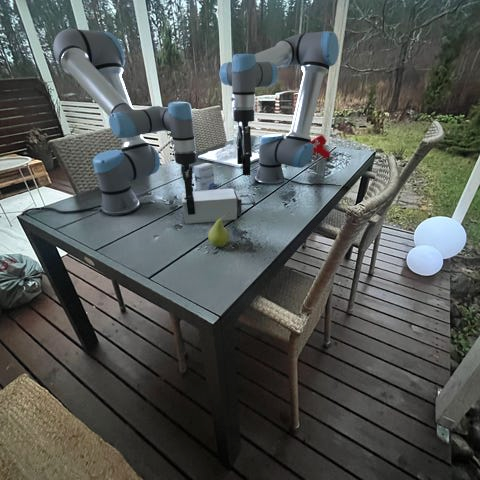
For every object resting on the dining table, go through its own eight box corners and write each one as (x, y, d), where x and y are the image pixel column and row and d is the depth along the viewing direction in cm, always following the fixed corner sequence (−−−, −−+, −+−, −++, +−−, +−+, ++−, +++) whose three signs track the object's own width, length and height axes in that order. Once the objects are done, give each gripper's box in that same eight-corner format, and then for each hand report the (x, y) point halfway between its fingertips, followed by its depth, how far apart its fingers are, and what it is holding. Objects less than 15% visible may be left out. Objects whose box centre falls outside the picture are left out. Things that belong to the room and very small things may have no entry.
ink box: (208, 184, 140) (207, 162, 133) (214, 187, 137) (213, 164, 130) (195, 189, 134) (192, 165, 128) (201, 192, 132) (199, 168, 125)
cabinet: (233, 208, 117) (232, 188, 112) (236, 219, 108) (236, 198, 103) (184, 212, 114) (182, 191, 109) (184, 224, 105) (182, 202, 100)
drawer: (250, 205, 117) (251, 189, 113) (255, 215, 109) (255, 198, 105) (192, 210, 113) (190, 194, 109) (193, 220, 106) (191, 203, 102)
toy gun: (334, 153, 174) (322, 133, 171) (333, 155, 171) (321, 134, 167) (309, 168, 184) (297, 149, 181) (308, 170, 181) (296, 151, 177)
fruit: (206, 242, 94) (203, 211, 88) (227, 237, 96) (225, 207, 90) (212, 252, 89) (209, 220, 82) (233, 247, 91) (232, 215, 85)
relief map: (240, 167, 163) (239, 158, 160) (198, 157, 181) (197, 150, 178) (264, 157, 181) (264, 149, 178) (224, 149, 199) (223, 141, 196)
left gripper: (175, 144, 105) (182, 197, 117) (172, 160, 86) (181, 222, 98) (194, 143, 106) (199, 195, 118) (196, 159, 87) (202, 220, 99)
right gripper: (228, 104, 103) (230, 160, 114) (237, 113, 82) (238, 181, 94) (248, 104, 104) (247, 159, 115) (262, 113, 83) (259, 179, 94)
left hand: (191, 207), depth 108 cm, fingers closed on cabinet, 10 cm apart
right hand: (243, 169), depth 104 cm, fingers open, 13 cm apart
